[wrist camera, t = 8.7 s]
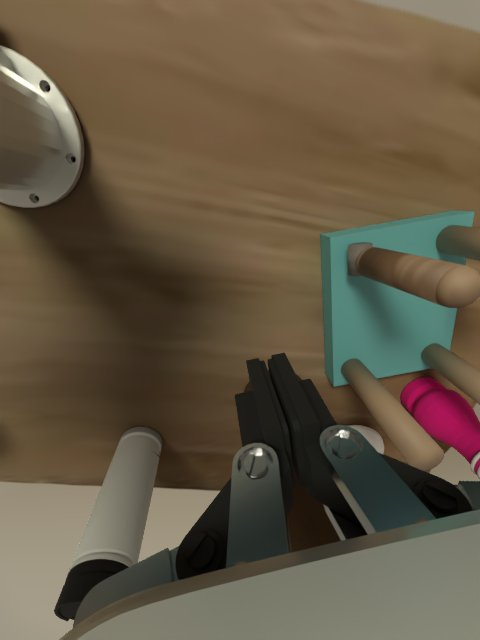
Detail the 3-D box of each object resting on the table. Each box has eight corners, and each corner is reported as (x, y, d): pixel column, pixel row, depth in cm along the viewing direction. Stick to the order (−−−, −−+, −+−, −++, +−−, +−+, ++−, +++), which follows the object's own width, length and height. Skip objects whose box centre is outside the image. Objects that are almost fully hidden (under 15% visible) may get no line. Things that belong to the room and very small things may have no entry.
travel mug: (171, 435, 42) (140, 613, 24) (148, 461, 44) (102, 646, 26) (135, 417, 40) (72, 597, 22) (112, 445, 42) (35, 632, 24)
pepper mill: (388, 404, 44) (513, 549, 25) (415, 368, 41) (576, 500, 23) (422, 415, 45) (563, 559, 27) (451, 381, 43) (626, 514, 25)
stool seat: (320, 234, 32) (421, 265, 16) (452, 210, 32) (675, 219, 17) (325, 374, 40) (396, 483, 25) (431, 354, 41) (568, 450, 25)
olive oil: (281, 350, 38) (383, 576, 15) (322, 395, 42) (453, 629, 19) (223, 394, 40) (238, 650, 17) (268, 432, 44) (327, 684, 21)
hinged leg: (340, 246, 29) (459, 274, 17) (366, 240, 30) (501, 265, 17) (340, 273, 30) (451, 318, 18) (365, 267, 31) (490, 308, 18)
